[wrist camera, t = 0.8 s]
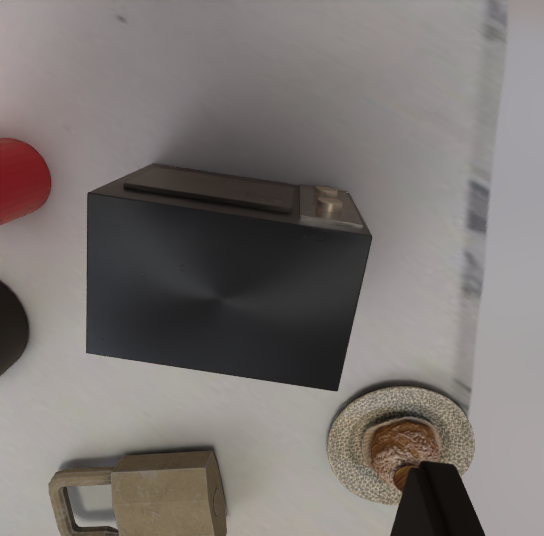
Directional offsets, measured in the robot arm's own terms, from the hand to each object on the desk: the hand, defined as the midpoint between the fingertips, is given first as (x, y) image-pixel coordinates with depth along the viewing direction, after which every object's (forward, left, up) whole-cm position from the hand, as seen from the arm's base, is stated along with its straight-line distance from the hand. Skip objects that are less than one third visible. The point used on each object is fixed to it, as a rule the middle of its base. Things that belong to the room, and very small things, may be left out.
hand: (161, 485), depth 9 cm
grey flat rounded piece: (+19, +14, -26) cm, 35 cm away
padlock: (+26, 0, -24) cm, 35 cm away
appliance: (+3, -1, -26) cm, 26 cm away
